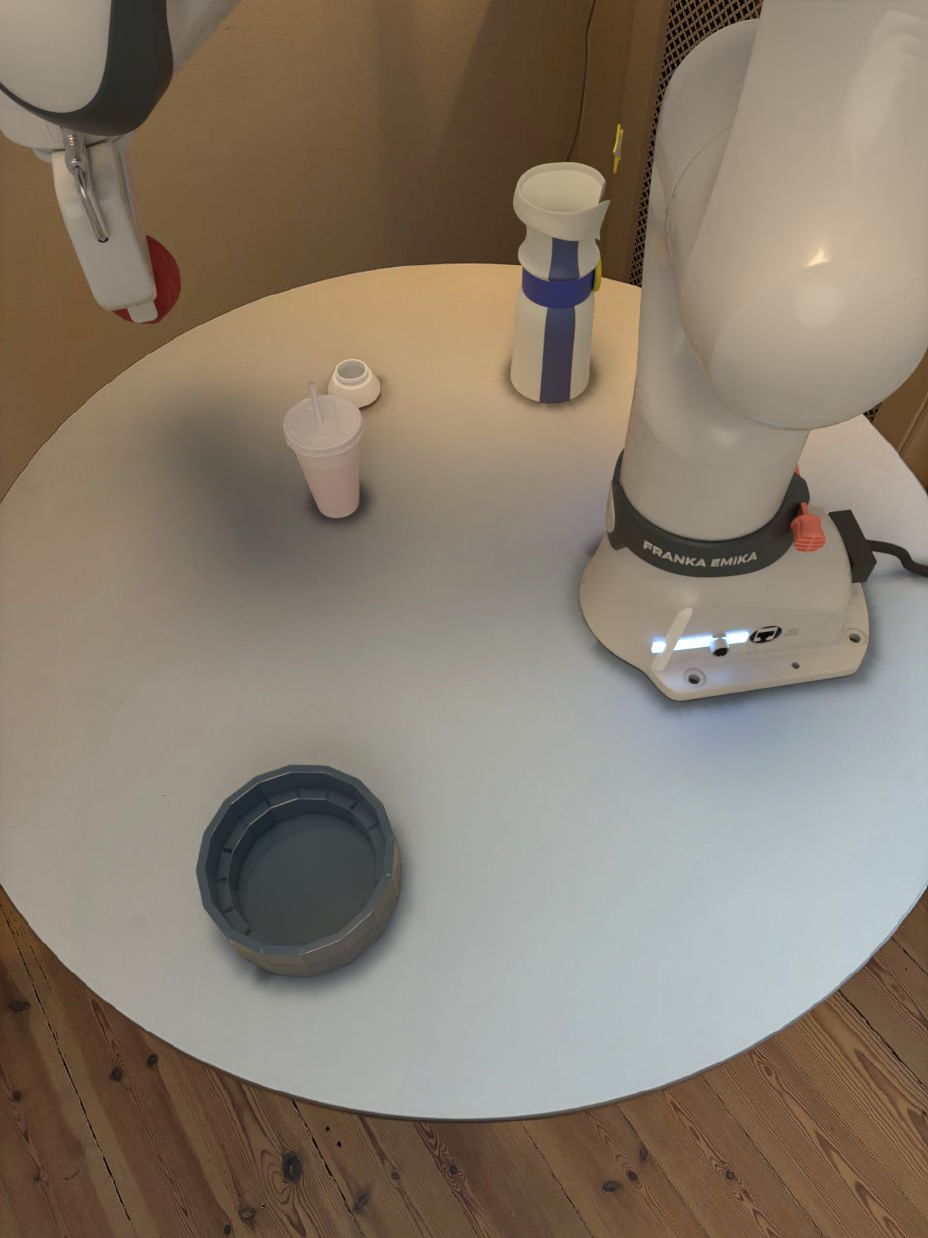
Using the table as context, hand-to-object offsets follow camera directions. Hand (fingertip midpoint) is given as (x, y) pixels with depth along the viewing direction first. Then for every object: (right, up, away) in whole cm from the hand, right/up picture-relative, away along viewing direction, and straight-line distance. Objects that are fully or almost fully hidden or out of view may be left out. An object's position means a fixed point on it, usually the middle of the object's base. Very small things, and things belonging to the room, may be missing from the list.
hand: (140, 285), depth 66 cm
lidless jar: (+13, -2, +23) cm, 27 cm away
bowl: (+13, -42, -4) cm, 44 cm away
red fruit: (0, -2, +3) cm, 3 cm away
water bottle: (+32, 0, +24) cm, 40 cm away
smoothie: (+12, -14, +15) cm, 24 cm away
